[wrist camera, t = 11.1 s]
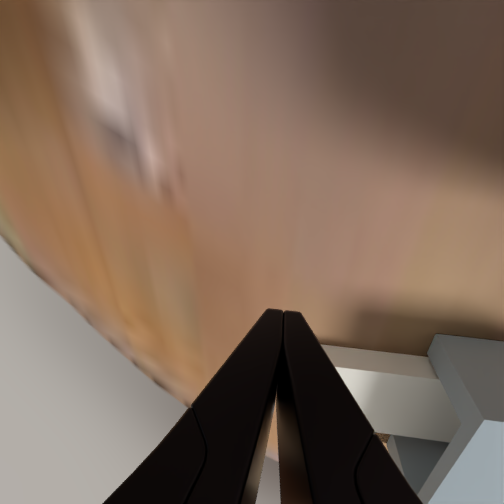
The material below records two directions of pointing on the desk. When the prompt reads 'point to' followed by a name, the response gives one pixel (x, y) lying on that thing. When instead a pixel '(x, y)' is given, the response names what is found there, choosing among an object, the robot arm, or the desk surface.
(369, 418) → the tile
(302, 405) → the robot arm
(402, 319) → the desk surface
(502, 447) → the overhang
